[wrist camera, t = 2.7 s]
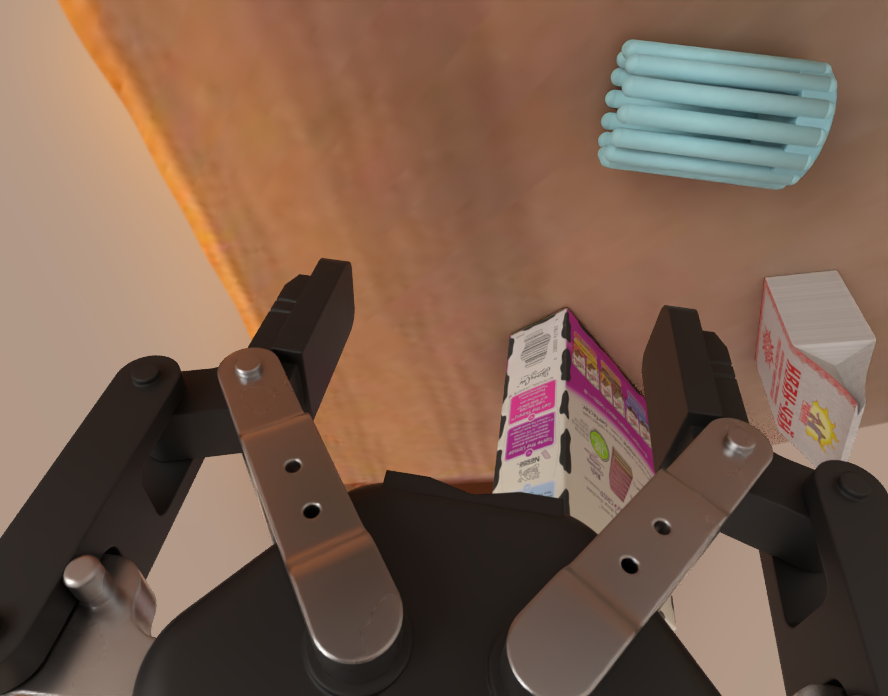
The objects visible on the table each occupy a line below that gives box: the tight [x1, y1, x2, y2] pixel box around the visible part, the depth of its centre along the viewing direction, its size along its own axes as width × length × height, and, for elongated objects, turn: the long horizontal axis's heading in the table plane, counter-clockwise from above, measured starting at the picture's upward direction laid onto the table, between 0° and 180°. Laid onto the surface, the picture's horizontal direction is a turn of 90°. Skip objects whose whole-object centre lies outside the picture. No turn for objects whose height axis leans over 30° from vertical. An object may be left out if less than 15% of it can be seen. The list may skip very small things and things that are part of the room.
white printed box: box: [755, 270, 876, 468], centre depth 32 cm, size 4×7×10 cm, turn 15°
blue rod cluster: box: [598, 39, 837, 190], centre depth 26 cm, size 8×5×5 cm, turn 86°
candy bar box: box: [493, 308, 677, 631], centre depth 36 cm, size 11×5×16 cm, turn 41°
